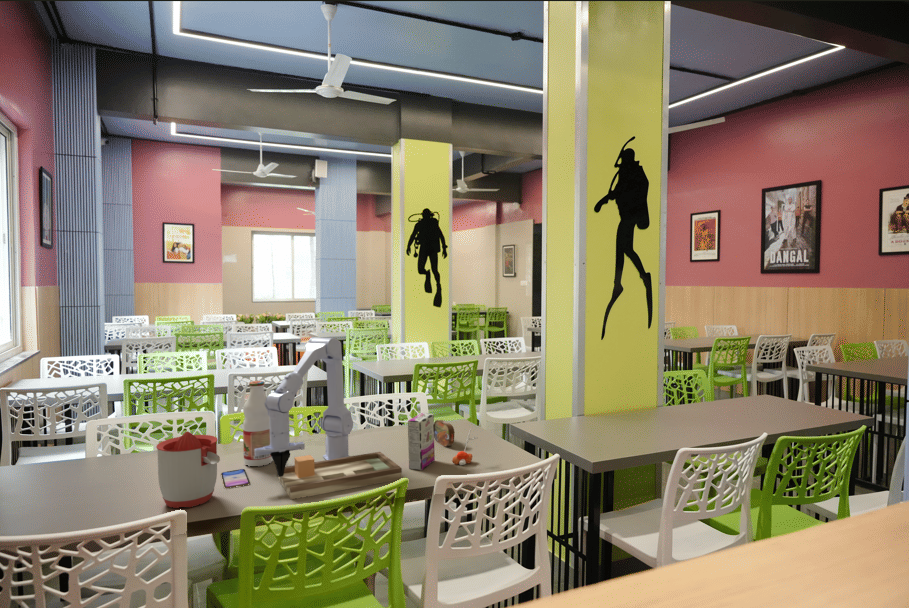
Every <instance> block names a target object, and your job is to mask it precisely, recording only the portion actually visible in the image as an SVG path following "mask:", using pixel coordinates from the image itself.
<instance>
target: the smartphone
mask: <svg viewBox="0 0 909 608" xmlns="http://www.w3.org/2000/svg"><path fill="white" fill-rule="evenodd" d="M246 471H247V470H246V469H243V468H241V469H240V468H239V469H235V470H229V471H223V472H221V473H220V476H221V475H222V479H223V482H222V484H224V486H223V488H224V487H225V488H229V489H231V488H230V487H235V488H237V487H236V486H241V487H244V486H243V485H247V486H249V485H248V484H250V485H251V481H250V479H249V476H248V473H247V472H246ZM222 479H221V480H222ZM225 488H224V489H225Z"/></svg>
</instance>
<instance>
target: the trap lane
mask: <svg viewBox="0 0 909 608" xmlns="http://www.w3.org/2000/svg"><path fill="white" fill-rule="evenodd" d="M349 456H350V455H349ZM314 467H315V475H313V476H307V477H301V478H298V477H297V476H296V474H295V464H294V465H289V466H288V465H286V466H285V470H284V475H283V476H282V477H278V476H277V477H278V481H279V482H280V484H281V486H282V487H283V489H284V491H285V492H286V494H287V495H288V497H289V500H291V499H292V500H296V499H295V498H297V499H301V498H300V497H302V498H307V497H306V496H308V497H312V496H318V495H322V494H329V493H333V492H339V491H343V490H349V489H354V488H360V487H361V488H362V487H365V486H371V485H376V484H380V483H388V482H391V481H397V480H401V479H400V478H403V477H402V476H403V475H402V467H401V466H400V465H399V464H397V463H396V462H394V461H393V460H392V459H391V458H389V457H388V456H386V455H385V454H384V453H382V452H381V451H376V452H370V453H369V452H368V453H363V454H357V455H351V456H350V457H343V458H337V459H331V460H326V459H324V460H320V461H314Z"/></svg>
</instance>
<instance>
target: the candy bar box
mask: <svg viewBox="0 0 909 608" xmlns="http://www.w3.org/2000/svg"><path fill="white" fill-rule="evenodd" d="M434 423H435V419H434V413H428V412H421V413H419V414H417V415H415V416H414V417H412V418H410V419H408V420H407V433H408V434H407V435H408V437H407V438H408V440H407V441H408V468H409V470H414V471H423V470H425V468H426V467H428V466H429V465H430V464H432V463H433V462H434V461H435V457H436V456H435V438H434Z"/></svg>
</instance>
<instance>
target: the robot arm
mask: <svg viewBox="0 0 909 608" xmlns="http://www.w3.org/2000/svg"><path fill="white" fill-rule="evenodd" d="M304 347H305V351H304V353H303V355H302V357H301V358H300V359H299V362H298V363H297V365H296V367H294V370H293V371H292V372H288V373H287V374H285V375H284V377H283V379H282V381H281V383H279V385H278V386H277V388H276V389H275V391H273V392H271V393H270V394H268V395H267V396H266V397H267V398H266V402H265V403H264V404H265V408H266V409H267V411H268V415H269V421H270V445H269V446H265V447H261V448H256V449H254V450H255V456H256V457H257V456H259V455H266V454H270V455H271V457H272V459H273V460H272V462H273V463H274V465H275V468H276V474H277V477H282V476H283V475H284V470H285V467H287V463H288V461H289V458H290V457H291V453H290V452H293V451H299V450H303V451H304V450H306V449H305V447H306V446H305V442H304V441H299V442H290V411H291V409H292V408H293V407H294V400H295V399H296V395H297V393H298V392H299V391H300V388H301V387H302V386H303V384H304V377H305V375H306V374H307V373H308V372H309V370H310V369H311V368H312V366H314V364H316V361H320V360H322V361H323V362H324V363H325V364H326V367H325V368H326V384H327V385H326V386H327V388H326V389H327V408H326V409H325V410H323V412H322V413H323V414H322V416H323V417H322V421H321V428H322V430H323V431H324V433H325V435H326V436H325V441H324V442H325V443H324V444H325V446H324V447H325V454H323V455H322V457H323V458H324V460H331V459H337V458H343V457H350V454H349V435H350V434H351V432H352V431H353V428H354V420H353V418H352V411H351V410H350V409H348V408H347V407H346V406H345V402H344V401H345V398H344V397H345V395H344V392H345V391H344V375H343V374H344V371H343V356H342V342H341V341H340V340H339V339H338V338H335V337H321V336H320V337H318V336H312V337H310V338H309V339H308V341H307V343H306V344H305V346H304Z"/></svg>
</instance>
